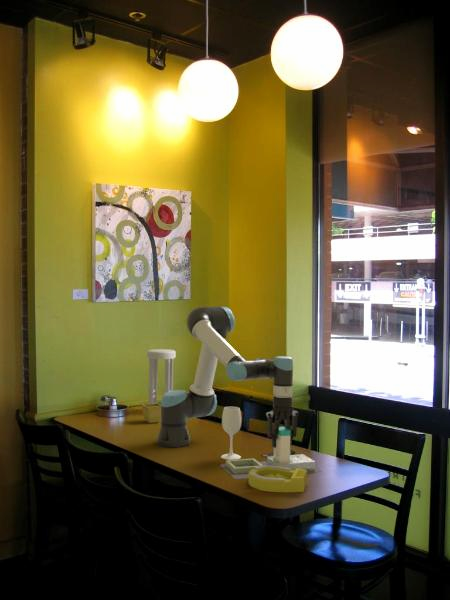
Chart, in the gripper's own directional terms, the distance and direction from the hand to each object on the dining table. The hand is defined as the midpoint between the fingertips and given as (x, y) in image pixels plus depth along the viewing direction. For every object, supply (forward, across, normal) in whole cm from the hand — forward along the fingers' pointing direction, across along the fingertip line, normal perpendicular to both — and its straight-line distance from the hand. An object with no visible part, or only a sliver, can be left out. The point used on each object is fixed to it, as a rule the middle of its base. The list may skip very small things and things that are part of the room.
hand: (281, 454), depth 246 cm
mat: (+6, -4, +2) cm, 7 cm away
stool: (+6, -24, +118) cm, 121 cm away
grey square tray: (+5, -14, +4) cm, 16 cm away
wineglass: (+6, -14, +21) cm, 26 cm away
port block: (+5, +4, 0) cm, 7 cm away
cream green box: (+4, 0, 0) cm, 4 cm away
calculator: (+6, +6, +17) cm, 19 cm away
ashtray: (+6, -9, -17) cm, 20 cm away
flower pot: (+6, -33, +95) cm, 101 cm away
